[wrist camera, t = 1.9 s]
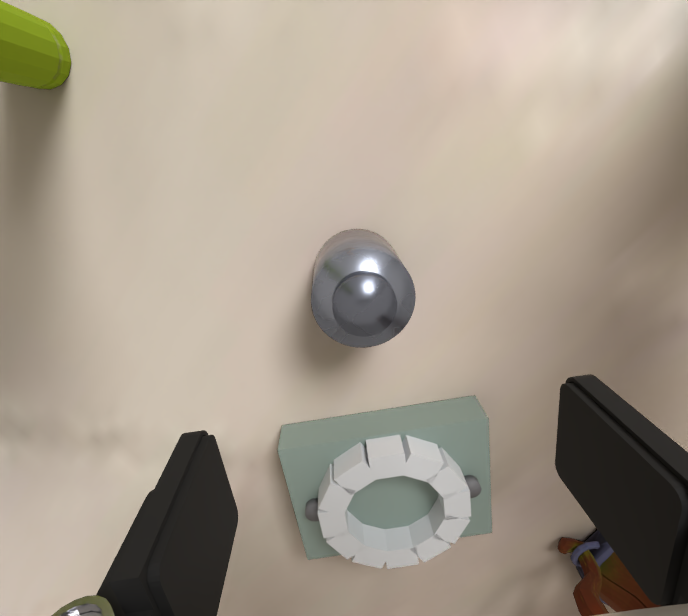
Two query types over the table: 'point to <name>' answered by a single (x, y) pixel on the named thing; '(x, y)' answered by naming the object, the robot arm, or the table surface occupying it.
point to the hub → (361, 289)
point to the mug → (602, 578)
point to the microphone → (31, 50)
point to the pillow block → (390, 481)
